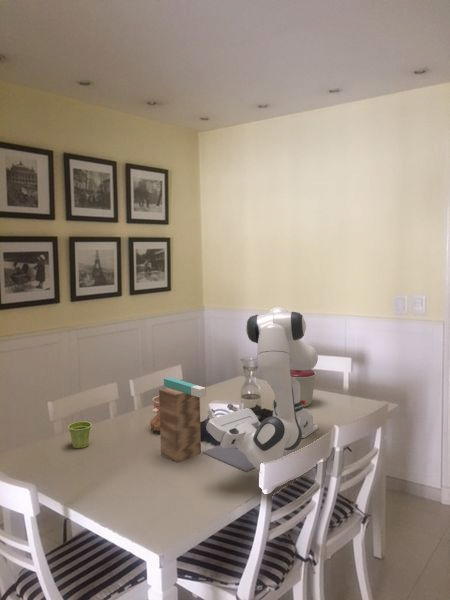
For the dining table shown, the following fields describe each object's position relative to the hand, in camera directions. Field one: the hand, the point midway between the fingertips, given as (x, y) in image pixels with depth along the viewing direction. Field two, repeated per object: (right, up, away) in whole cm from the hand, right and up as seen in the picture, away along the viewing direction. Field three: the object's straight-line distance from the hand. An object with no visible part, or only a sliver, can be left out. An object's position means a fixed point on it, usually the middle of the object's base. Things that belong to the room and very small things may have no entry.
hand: (219, 407), depth 178 cm
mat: (+5, -22, +13) cm, 26 cm away
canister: (+39, -15, +77) cm, 88 cm away
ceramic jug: (-24, -19, +46) cm, 55 cm away
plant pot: (-57, -22, +28) cm, 67 cm away
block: (-14, +4, +13) cm, 19 cm away
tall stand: (-15, -22, +18) cm, 32 cm away
